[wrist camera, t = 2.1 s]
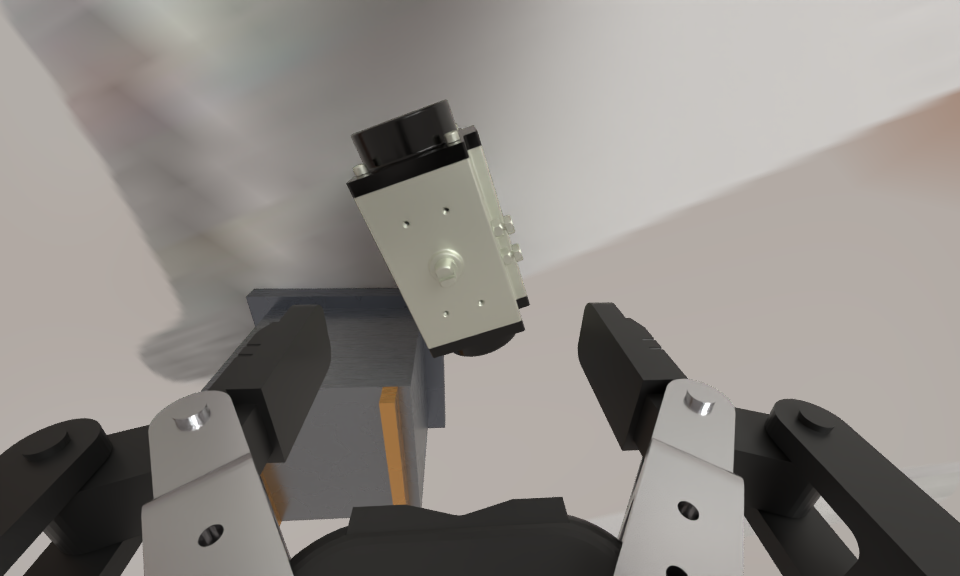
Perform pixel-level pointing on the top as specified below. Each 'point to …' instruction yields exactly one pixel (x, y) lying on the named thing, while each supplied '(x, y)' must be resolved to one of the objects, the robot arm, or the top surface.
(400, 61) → the top surface
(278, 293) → the orange-striped grey block
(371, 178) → the pneumatic valve
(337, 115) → the top surface
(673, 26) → the top surface
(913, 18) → the top surface
